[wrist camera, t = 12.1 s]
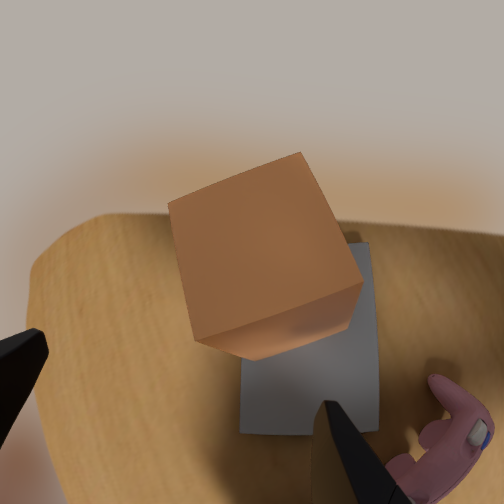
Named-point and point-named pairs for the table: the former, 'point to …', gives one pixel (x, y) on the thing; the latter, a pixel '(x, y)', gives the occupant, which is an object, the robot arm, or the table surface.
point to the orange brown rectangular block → (264, 261)
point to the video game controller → (444, 445)
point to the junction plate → (318, 373)
